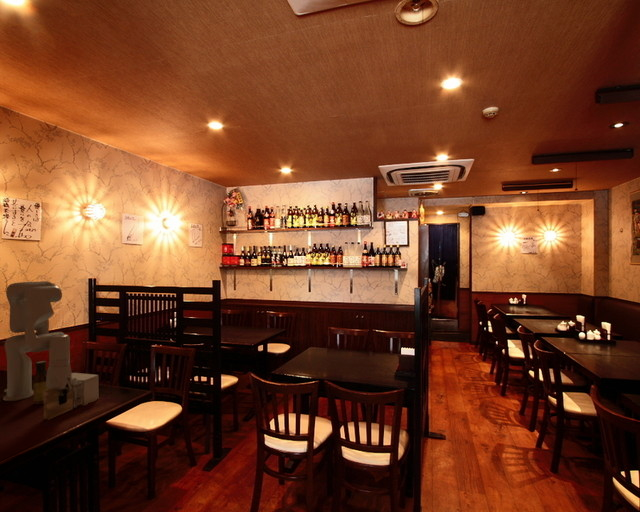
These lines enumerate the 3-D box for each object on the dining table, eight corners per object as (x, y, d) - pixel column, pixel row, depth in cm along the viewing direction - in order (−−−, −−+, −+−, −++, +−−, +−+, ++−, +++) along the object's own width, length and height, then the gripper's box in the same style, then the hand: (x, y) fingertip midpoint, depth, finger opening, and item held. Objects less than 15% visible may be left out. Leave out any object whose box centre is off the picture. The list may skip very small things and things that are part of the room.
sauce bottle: (52, 401, 173) (52, 360, 174) (38, 406, 168) (38, 364, 168) (45, 399, 176) (45, 359, 176) (30, 403, 170) (30, 362, 171)
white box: (50, 405, 168) (50, 376, 168) (73, 396, 179) (73, 368, 180) (76, 408, 164) (76, 378, 164) (98, 399, 175) (98, 371, 175)
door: (42, 418, 153) (42, 391, 153) (75, 404, 168) (75, 379, 168) (50, 419, 152) (50, 392, 152) (82, 405, 167) (82, 380, 167)
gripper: (37, 363, 157) (37, 404, 157) (65, 366, 153) (65, 408, 153) (54, 359, 164) (54, 398, 164) (81, 361, 160) (81, 401, 160)
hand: (59, 402), depth 158 cm, fingers closed on door, 3 cm apart
